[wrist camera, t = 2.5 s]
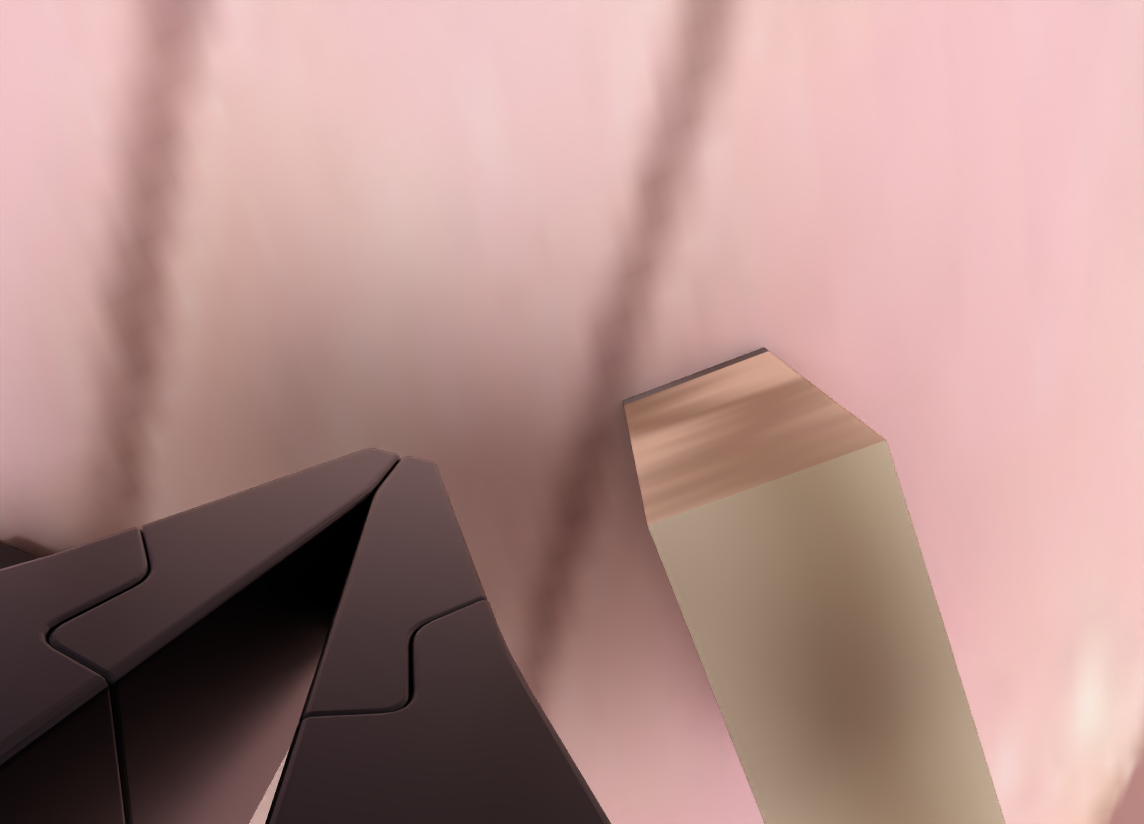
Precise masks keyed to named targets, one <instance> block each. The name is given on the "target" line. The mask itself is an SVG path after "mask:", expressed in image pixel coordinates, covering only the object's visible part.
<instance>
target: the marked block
mask: <svg viewBox="0 0 1144 824" xmlns="http://www.w3.org/2000/svg"><path fill="white" fill-rule="evenodd" d="M623 404H624V409H625V414H626V419H627V424H628V429H629V435H630V440H631V445H632V450H633V455H634V460H635V465H636V470H637V475H638V480H639V485H640V490H641V496H642V501H643V506H644V511H645V516H646V521H647V526H648V528H649V531H650V533H651V536H652V538H653V541H654V543H655V546H656V549H657V551H658V554H659V556H660V559H661V561H662V564H663V566H664V569H665V571H666V574H667V576H668V579H669V582H670V584H671V587H672V589H673V592H674V594H675V597H676V599H677V602H678V604H679V607H680V610H681V612H682V615H683V617H684V620H685V622H686V625H687V627H688V630H689V632H690V635H691V638H692V640H693V643H694V645H695V648H696V650H697V653H698V655H699V658H700V660H701V663H702V665H703V668H704V671H705V673H706V676H707V678H708V681H709V683H710V686H711V688H712V691H713V693H714V696H715V699H716V701H717V704H718V706H719V709H720V711H721V714H722V716H723V719H724V721H725V724H726V727H727V729H728V732H729V734H730V737H731V739H732V742H733V744H734V747H735V749H736V752H737V754H738V757H739V760H740V762H741V765H742V767H743V770H744V772H745V775H746V777H747V780H748V782H749V785H750V788H751V790H752V793H753V795H754V798H755V800H756V803H757V805H758V808H759V810H760V813H761V816H762V818H763V821H764V823H765V824H1006V823H1005V820H1004V817H1003V813H1002V810H1001V807H1000V804H999V800H998V797H997V794H996V791H995V788H994V784H993V781H992V778H991V775H990V772H989V768H988V765H987V762H986V759H985V756H984V752H983V749H982V746H981V743H980V739H979V736H978V733H977V730H976V727H975V723H974V720H973V717H972V714H971V711H970V707H969V704H968V701H967V698H966V694H965V691H964V688H963V685H962V682H961V678H960V675H959V672H958V669H957V666H956V662H955V659H954V656H953V653H952V650H951V646H950V643H949V640H948V637H947V633H946V630H945V627H944V624H943V621H942V617H941V614H940V611H939V608H938V605H937V601H936V598H935V595H934V592H933V588H932V585H931V582H930V579H929V576H928V572H927V569H926V566H925V563H924V560H923V556H922V553H921V550H920V547H919V543H918V540H917V537H916V534H915V531H914V527H913V524H912V521H911V518H910V515H909V511H908V508H907V505H906V502H905V499H904V495H903V492H902V489H901V486H900V482H899V479H898V476H897V473H896V470H895V466H894V463H893V460H892V457H891V454H890V450H889V447H888V444H887V441H886V439H884V438H883V437H882V436H880V435H879V434H878V433H876V432H875V431H874V430H872V429H871V428H870V427H869V426H867V425H866V424H865V423H863V422H862V421H861V420H859V419H858V418H857V417H855V416H854V415H853V414H851V413H850V412H849V411H847V410H846V409H845V408H843V407H842V406H841V405H839V404H838V403H837V402H836V401H834V400H833V399H832V398H830V397H829V396H828V395H826V394H825V393H824V392H822V391H821V390H820V389H818V388H817V387H816V386H814V385H813V384H812V383H810V382H809V381H808V380H806V379H805V378H804V377H802V376H801V375H800V374H799V373H797V372H796V371H795V370H793V369H792V368H791V367H789V366H788V365H787V364H785V363H784V362H783V361H781V360H780V359H779V358H777V357H776V356H775V355H773V354H772V353H771V352H769V351H768V350H767V349H766V348H761V349H759V350H756V351H753V352H751V353H748V354H745V355H743V356H740V357H737V358H735V359H732V360H729V361H727V362H724V363H721V364H719V365H716V366H713V367H711V368H708V369H705V370H703V371H700V372H697V373H695V374H692V375H689V376H687V377H684V378H681V379H679V380H676V381H673V382H671V383H668V384H665V385H663V386H660V387H657V388H655V389H652V390H649V391H647V392H644V393H641V394H639V395H636V396H633V397H631V398H628V399H625V400H623Z"/></svg>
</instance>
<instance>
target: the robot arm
mask: <svg viewBox="0 0 1144 824" xmlns="http://www.w3.org/2000/svg"><path fill="white" fill-rule="evenodd" d="M289 747H290V749H289ZM288 749H289V752H288V755H287V758H286V761H285V764H284V767H283V771H282V774H281V777H280V780H279V783H278V786H277V789H276V792H275V795H274V798H273V801H272V804H271V807H270V810H269V813H268V817H267V820H266V823H265V824H611V822H610V821H609V819H608V817H607V816H606V814H605V812H604V811H603V809H602V807H601V806H600V804H599V802H598V801H597V799H596V798H595V796H594V794H593V793H592V791H591V789H590V788H589V786H588V784H587V783H586V781H585V779H584V778H583V776H582V774H581V773H580V771H579V769H578V768H577V766H576V764H575V763H574V761H573V759H572V758H571V756H570V754H569V753H568V751H567V749H566V748H565V746H564V744H563V743H562V741H561V739H560V738H559V736H558V734H557V733H556V731H555V729H554V728H553V726H552V724H551V723H550V721H549V719H548V718H547V716H546V714H545V713H544V711H543V709H542V708H541V706H540V704H539V703H538V701H537V699H536V698H535V696H534V694H533V693H532V691H531V689H530V688H529V686H528V684H527V683H526V681H525V679H524V677H523V675H522V674H521V672H520V670H519V668H518V666H517V665H516V663H515V661H514V659H513V657H512V656H511V654H510V652H509V649H508V647H507V645H506V643H505V640H504V638H503V636H502V634H501V631H500V629H499V627H498V624H497V622H496V619H495V617H494V614H493V611H492V609H491V606H490V604H489V602H488V601H487V598H486V595H485V593H484V590H483V587H482V585H481V582H480V579H479V577H478V574H477V571H476V569H475V566H474V564H473V561H472V558H471V556H470V553H469V550H468V548H467V545H466V542H465V540H464V537H463V534H462V532H461V529H460V526H459V524H458V521H457V518H456V516H455V513H454V510H453V508H452V505H451V502H450V500H449V497H448V495H447V492H446V489H445V487H444V484H443V481H442V479H441V476H440V473H439V471H438V468H437V466H436V464H435V463H434V462H432V461H428V460H423V459H419V458H414V457H409V456H405V457H403V458H402V459H400V456H399V455H397V454H395V453H391V452H386V451H382V450H377V449H373V448H368V449H364V450H361V451H358V452H355V453H352V454H350V455H347V456H344V457H341V458H338V459H335V460H332V461H329V462H326V463H323V464H321V465H318V466H315V467H312V468H309V469H306V470H303V471H300V472H297V473H294V474H292V475H289V476H286V477H283V478H280V479H277V480H274V481H271V482H268V483H265V484H263V485H260V486H257V487H254V488H251V489H248V490H245V491H242V492H239V493H236V494H233V495H231V496H228V497H225V498H222V499H219V500H216V501H213V502H210V503H207V504H204V505H201V506H199V507H196V508H193V509H190V510H187V511H184V512H181V513H178V514H175V515H172V516H169V517H167V518H164V519H161V520H158V521H155V522H152V523H149V524H146V525H144V526H142V527H141V529H139V528H137V527H134V528H131V529H128V530H125V531H122V532H119V533H117V534H114V535H111V536H108V537H105V538H102V539H99V540H96V541H93V542H89V543H86V544H83V545H80V546H77V547H74V548H71V549H68V550H65V551H61V552H58V553H55V554H52V555H49V556H45V557H42V558H39V557H36V556H33V555H31V554H28V553H26V552H23V551H21V550H18V549H16V548H13V547H10V546H8V545H5V544H3V543H0V824H249V822H250V820H251V818H252V817H253V815H254V813H255V811H256V809H257V807H258V805H259V803H260V802H261V800H262V798H263V796H264V794H265V792H266V790H267V789H268V787H269V785H270V783H271V781H272V779H273V777H274V775H275V774H276V772H277V770H278V768H279V766H280V764H281V762H282V760H283V759H284V757H285V755H286V753H287V751H288Z"/></svg>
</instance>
